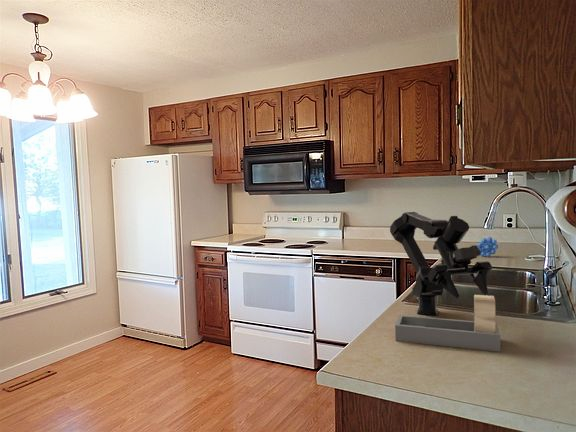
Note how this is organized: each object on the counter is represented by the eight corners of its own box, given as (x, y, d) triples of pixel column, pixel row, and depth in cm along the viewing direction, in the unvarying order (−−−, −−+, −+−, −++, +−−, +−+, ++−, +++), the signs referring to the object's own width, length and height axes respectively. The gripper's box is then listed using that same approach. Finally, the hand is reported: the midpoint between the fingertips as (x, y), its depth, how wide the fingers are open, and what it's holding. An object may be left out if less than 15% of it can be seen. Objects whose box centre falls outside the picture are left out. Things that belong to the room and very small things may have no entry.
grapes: (499, 256, 247) (499, 236, 246) (497, 258, 241) (497, 237, 241) (477, 255, 253) (477, 235, 253) (476, 257, 248) (476, 237, 247)
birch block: (474, 332, 118) (474, 294, 118) (493, 334, 117) (493, 295, 116) (474, 338, 114) (474, 299, 113) (495, 340, 112) (495, 300, 111)
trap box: (399, 329, 129) (399, 315, 128) (496, 338, 119) (496, 323, 118) (395, 340, 120) (395, 325, 119) (500, 351, 109) (500, 335, 109)
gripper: (432, 238, 122) (455, 283, 112) (488, 234, 126) (515, 278, 115) (419, 260, 130) (439, 304, 120) (472, 256, 134) (495, 298, 124)
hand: (472, 296), depth 120 cm, fingers open, 9 cm apart
